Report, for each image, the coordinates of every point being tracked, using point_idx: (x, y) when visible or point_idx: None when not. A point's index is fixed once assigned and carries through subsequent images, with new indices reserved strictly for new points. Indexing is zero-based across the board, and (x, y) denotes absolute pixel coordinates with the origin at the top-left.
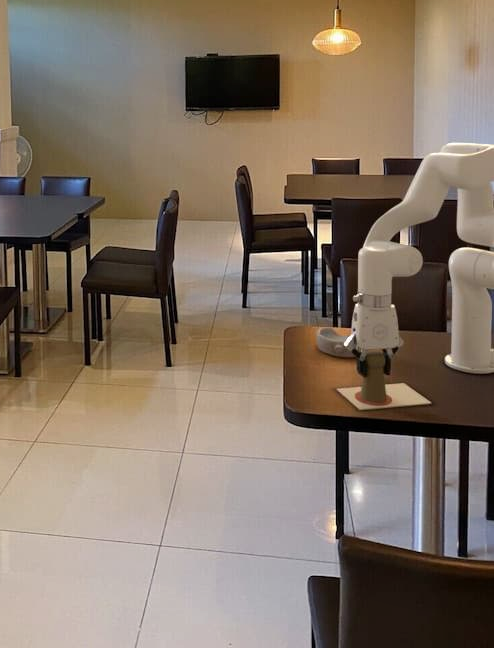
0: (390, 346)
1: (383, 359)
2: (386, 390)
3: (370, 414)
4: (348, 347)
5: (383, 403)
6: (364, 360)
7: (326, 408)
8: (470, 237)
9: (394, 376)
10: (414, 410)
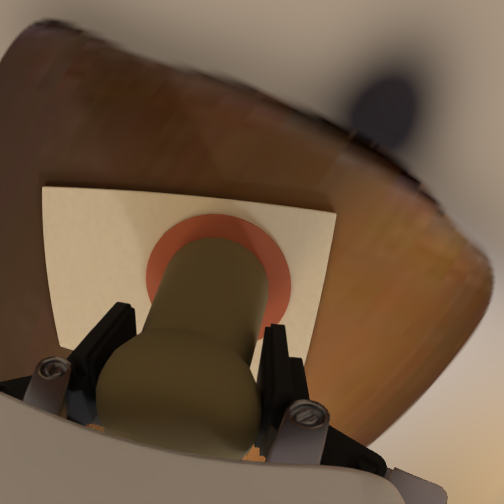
0: (7, 407)
1: (123, 360)
2: None
3: (318, 165)
4: (427, 492)
5: (210, 223)
6: (279, 404)
7: (429, 269)
8: None
9: None
10: (121, 148)
